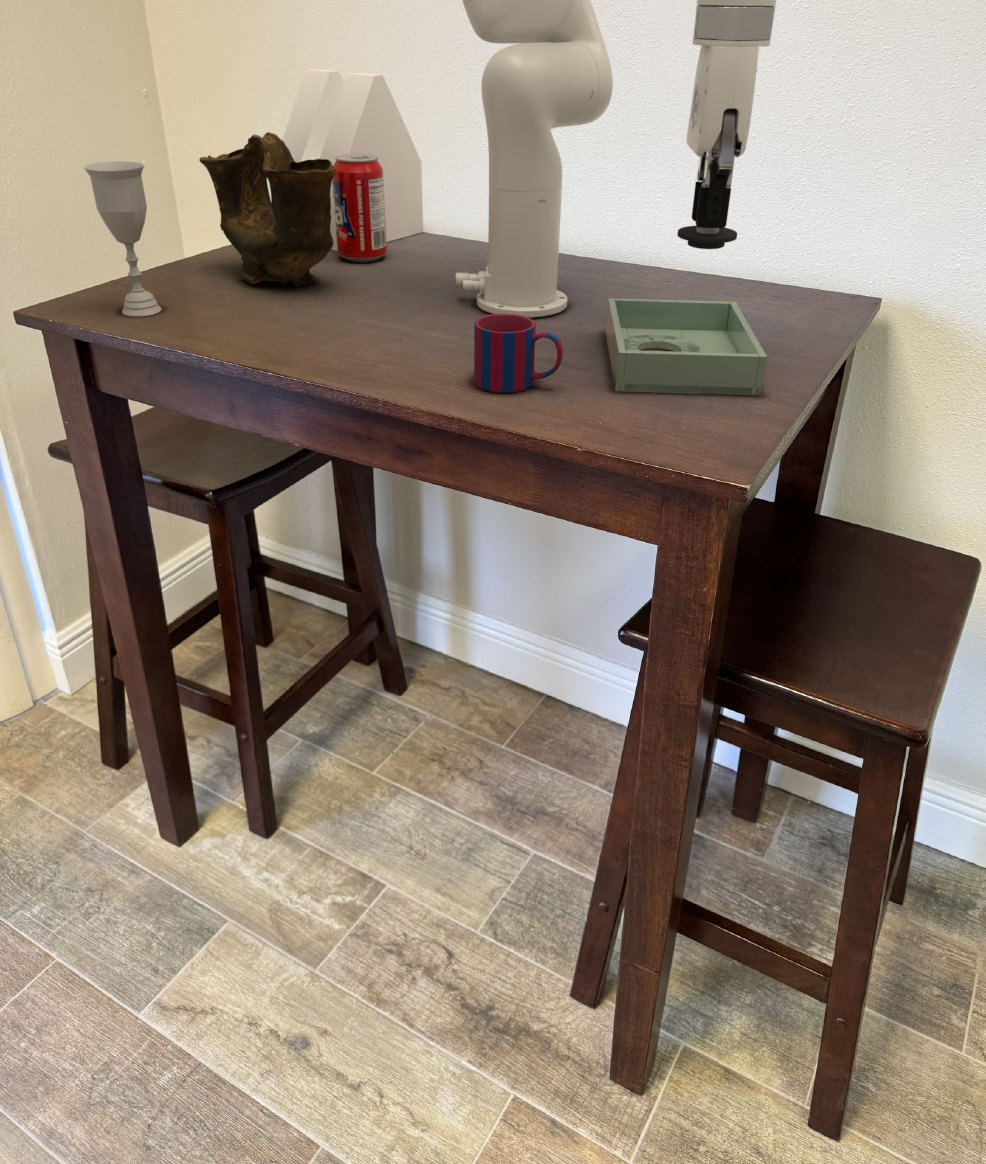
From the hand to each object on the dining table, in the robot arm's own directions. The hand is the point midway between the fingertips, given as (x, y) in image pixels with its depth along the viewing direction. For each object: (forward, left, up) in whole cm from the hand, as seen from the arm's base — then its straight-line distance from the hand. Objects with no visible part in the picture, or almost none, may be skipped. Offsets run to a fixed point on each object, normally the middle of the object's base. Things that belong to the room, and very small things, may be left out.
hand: (708, 222), depth 102 cm
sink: (-1, +2, -16) cm, 17 cm away
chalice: (-71, +16, -17) cm, 75 cm away
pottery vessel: (-56, +32, -17) cm, 67 cm away
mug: (-20, -7, -17) cm, 27 cm away
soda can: (-46, +46, -17) cm, 67 cm away
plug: (0, 0, -2) cm, 2 cm away
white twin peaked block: (-50, +61, -17) cm, 80 cm away
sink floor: (-1, +2, -16) cm, 17 cm away
